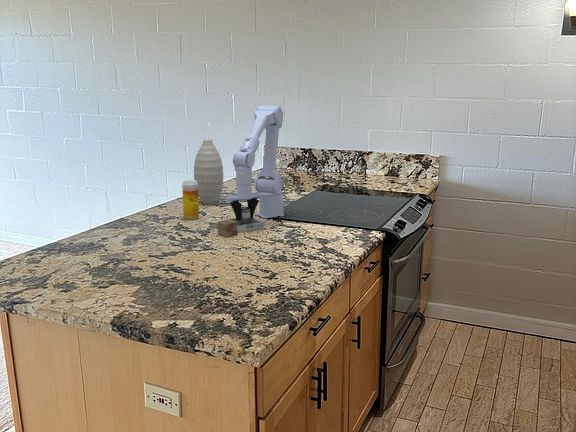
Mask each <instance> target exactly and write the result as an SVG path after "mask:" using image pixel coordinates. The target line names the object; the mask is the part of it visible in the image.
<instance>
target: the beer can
mask: <svg viewBox="0 0 576 432" xmlns="http://www.w3.org/2000/svg"><path fill="white" fill-rule="evenodd" d="M181 185H182V206H183V207H182V209H183V211H182V212H183V218H184V219H185V220H189V221H192V220H197V219H198V218H199V217H200V208H199V207H200V204H199V201H200V199H199V197H198V183H197V181H196V180H194V179H186V180H183V182H182V184H181Z"/></svg>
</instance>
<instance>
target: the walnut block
mask: <svg viewBox="0 0 576 432" xmlns="http://www.w3.org/2000/svg"><path fill="white" fill-rule="evenodd" d="M227 219H228V220H226V219H224V220H220V221H217V235H218V236H220V237H223V238H226V239H228V238H231V237H235V236H238V233H239V232H238V231H237V222H236V221H233V220H229V219H230V218H227Z"/></svg>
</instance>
